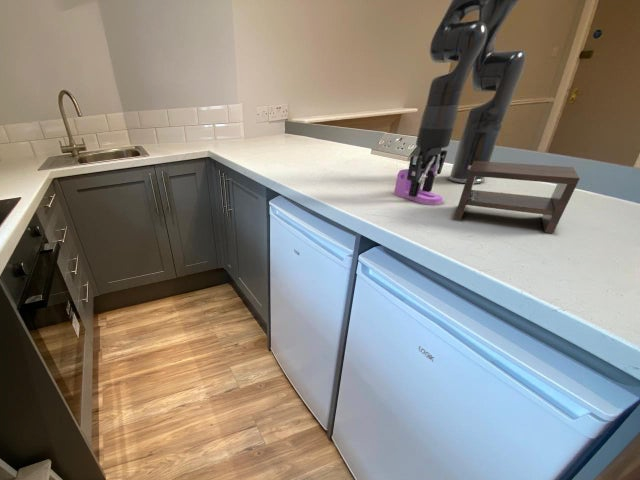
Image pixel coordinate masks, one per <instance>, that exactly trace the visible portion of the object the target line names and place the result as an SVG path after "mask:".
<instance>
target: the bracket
mask: <svg viewBox="0 0 640 480" xmlns="http://www.w3.org/2000/svg"><path fill="white" fill-rule="evenodd" d="M408 170H409V168H405V169H400V170H399V171H398V173H397V176H396V181H395V187H394V190H393V194H394V195H396V196H399V197H402V198H405V199H408V200H410V201H414V202H416V203H419V204H423V205H429V206H437V205H440V204H442V201H443V196H442V195H440V194H437V193H434V192H431V191H430V192H427V191H424V190H422V188H421V187H422V185H423V184H422V183H423V179H424V177H423V178H422V180H421V182H420V183H421V184H420V188H419V192H418V196H416V197H412V196H409V190H410V186H411V181H410V180H407V175H408ZM422 170H423V169H422ZM412 174H413V171H412ZM419 176H420V174H419Z"/></svg>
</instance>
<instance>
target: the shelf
mask: <svg viewBox="0 0 640 480" xmlns="http://www.w3.org/2000/svg"><path fill="white" fill-rule="evenodd" d="M476 176H479V177H484V178H494V179H504V180H514V181H516V180H517V181H528V182H538V183H551V184H556V186H555V188H554V190H553V192H552V194H551V197H546V196H536V195H526V194H516V193H508V192H507V193H506V192H496V191H487V190H479V189H478V190H476V189H473V187H474V185H475V183H474V181H475V178H476ZM579 181H580V176H579V175H578V173H577V171H576V169H575V168H574V167H573V166H560V165H559V166H558V165H545V164H543V165H541V164H528V163H527V164H526V163H515V162H514V163H513V162H498V161H490V162H484V161H474V162H473V164H472V166H471V168H470V170H469V173H468V176H467V179H466V182H465V183H464V185H463V189H462V192H461V195H460V199H459V201H458V205H457V208H456V210H455V214H454V217H453V220H455V221H461V220H462V218H463V216H464V213H465V211H466V208H467V206H471V207H480V208H487V209H494V210H505V211H512V212H521V213H529V214H535V215H536V214H537V215H542V216H541V219H542V226H543V232H544V233H545V234H554V232H555V230H556V229H557V226H558V224H559V222H560V220H561V218H562V216H563V214H564V212H565V210H566V208H567V206H568V204H569V202H570V199H571V197H572V196H573V193H574V192H575V189H576V187H577V185H578V183H579Z"/></svg>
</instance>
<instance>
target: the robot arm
mask: <svg viewBox="0 0 640 480" xmlns="http://www.w3.org/2000/svg"><path fill="white" fill-rule="evenodd" d="M519 1H520V0H451V1H450V3H449V5H448V7H447V9H446V11H445V13H444V15H443V17H442V19H441V21H440V23H439V24H438V26H437V27H436V30H435V31H434V34H433V36H432V39H431V41H430V44H429V57H430V59H431V61H432V62H433V63H436V64H445V63H457V64H456V66H455V67H454V68H453V70H451V71H450V72H448V73H445V74H441V75H437V76H435V77H434V78H433V79H432V80H431V81H430V85H429V89H428V92H427V98H426V102H425V106H424V109H423V112H422V114H421V119H420V124H419V128H418V134H417V136H416V137H417V138H416V140H415V146H416V147H418V148H420V149H419V152H418V154H417V155H411V156H410V158H409V164H408V169H409V170H408V175H407V180H410V181H411V186H410V190H409V196H412V197H416V196H418V192H419V188H420V184H421V183H420V182H421V180H422V178H423V179H424V182H423V184H421V185H423V186H422V188H421V190H424V191H427V192H430V193H431V192H432V190H433V186H434V183H435V178H437V177H438V175H440V174H441V173H442V170H443V168H444V163H445V160H446V157H447V154H448V150H446V149H444V148H448V147H449V145H450V143H451V138H452V135H453V131H454V128H455V124H456V120H457V115H458V110H459V104H460V101H461V97H462V94H463V90H464V86H465V84H466V82H467V79H468V77H469V75H470V72H471V87H472V89H473V90H474V91H475V92H478V93H479V92H480V93H486V92H487V93H488V92H489V93H491V92H492V93H493V92H494V95H493V96H492V97H491V99H490V100H488V101H486V102H484V103H482V104H479V105H476V106H473V107H471V108H469V110H468V112H467V115H466V119H465V122H464V125H463V129H462V132H461V137H460V140H459V144H458V147H457V150H456V154H455V157H454V161H453V163H452V166H451V167H452V168H451V171H450V174H449V177H448V180H449V181H451V182H455V183H460V184H465V182H466V179H467V176H468V173H469V170H470V168H471V166H472V164H473V162H474V161H484V162H491V159H492V156H493V153H494V150H495V147H496V144H497V141H498V138H499V135H500V132H501V129H502V125H503V123H504V119H505V117H506V114H507V112H508V110H509V108H510V106H511V104H512V100H513V99H514V96H515V92H516V90H517V87H518V84H519V83H520V80H521V77H522V75H523V72H524V69H525V65H526V62H527V55H526V54H527V53H526V52H525V51H524V50H522V49H509V50H497V51H496V41H497V37H498V34H499V32H500V30H501V28H502V26H503V25H504V24H505V21H506V20H507V19H508V18H509V16H510V14H511V13H512V11H513V10H514V9H515V7H516V6H517V4H518V2H519ZM476 12H477V20H470V21H464V22H461V21H462V20H463V19H464V18H465V17H467V16H468V15H470V14H473V13H476ZM471 70H472V71H471ZM422 169H423V170H422ZM412 171H413V174H412ZM419 174H420V176H419ZM424 176H425V177H424ZM484 180H485V177H479V176H476V178H475V181H474V184H482V183H483V182H484ZM422 181H423V180H422Z"/></svg>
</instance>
